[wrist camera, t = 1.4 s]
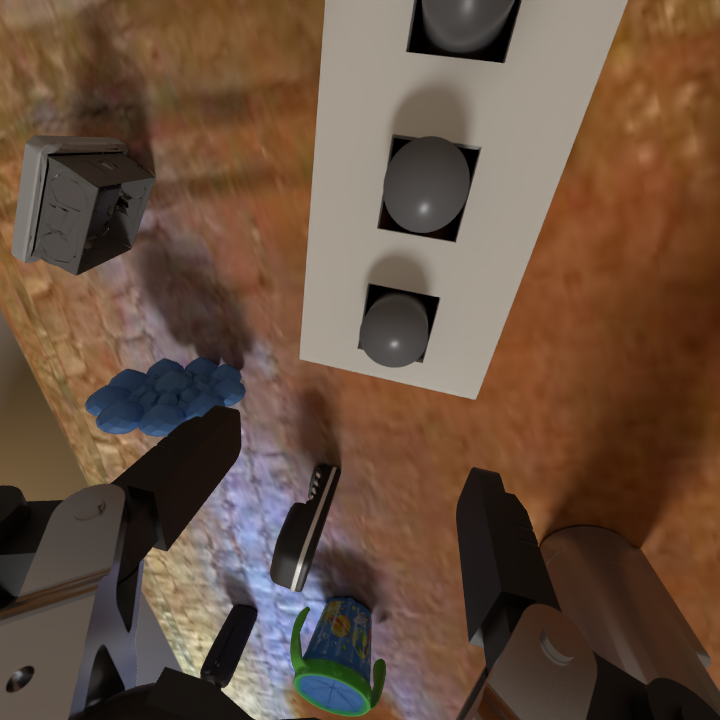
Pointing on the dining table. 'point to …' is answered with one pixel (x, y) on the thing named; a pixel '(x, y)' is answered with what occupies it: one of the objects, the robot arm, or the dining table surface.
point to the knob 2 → (426, 184)
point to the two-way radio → (228, 646)
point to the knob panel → (487, 187)
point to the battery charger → (303, 531)
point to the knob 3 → (395, 328)
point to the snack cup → (338, 660)
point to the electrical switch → (78, 201)
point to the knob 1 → (463, 26)
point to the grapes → (164, 396)
